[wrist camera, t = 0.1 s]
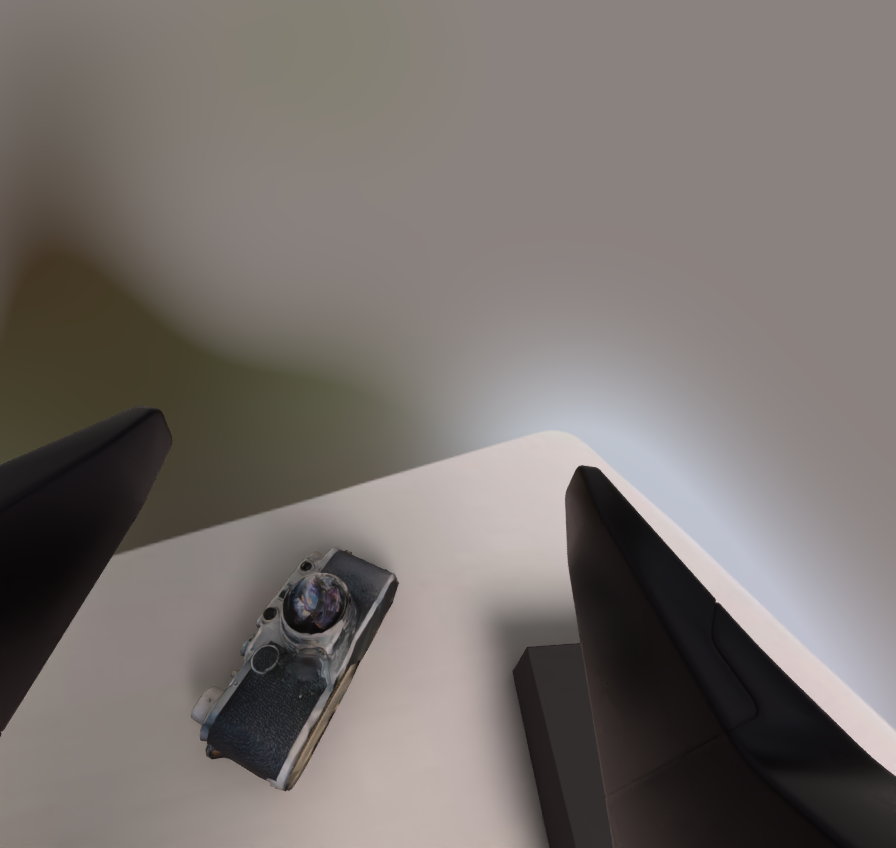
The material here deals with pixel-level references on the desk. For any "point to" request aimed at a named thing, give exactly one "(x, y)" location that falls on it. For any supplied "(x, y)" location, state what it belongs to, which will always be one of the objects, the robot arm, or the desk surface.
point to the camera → (297, 666)
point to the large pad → (563, 745)
